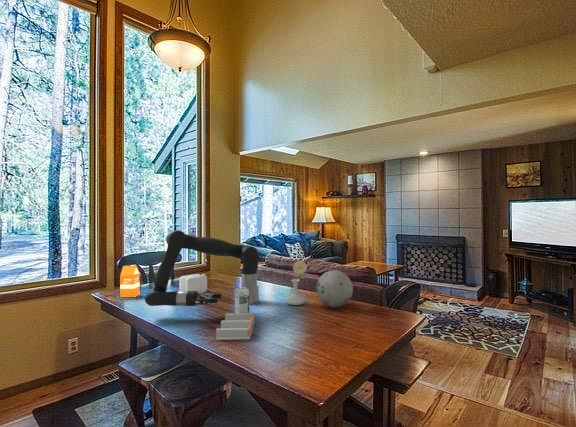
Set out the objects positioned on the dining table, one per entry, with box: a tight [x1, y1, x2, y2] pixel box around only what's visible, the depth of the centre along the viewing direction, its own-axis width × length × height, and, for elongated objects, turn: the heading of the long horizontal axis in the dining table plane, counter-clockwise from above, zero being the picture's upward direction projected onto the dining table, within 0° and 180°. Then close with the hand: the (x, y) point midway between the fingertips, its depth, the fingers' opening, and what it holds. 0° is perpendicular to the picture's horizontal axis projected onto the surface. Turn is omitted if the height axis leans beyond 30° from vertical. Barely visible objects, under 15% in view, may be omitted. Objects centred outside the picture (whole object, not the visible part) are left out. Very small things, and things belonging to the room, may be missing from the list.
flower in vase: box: [285, 260, 308, 306], centre depth 182 cm, size 13×11×25 cm
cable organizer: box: [178, 273, 208, 295], centre depth 212 cm, size 15×11×12 cm
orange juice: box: [119, 265, 141, 298], centre depth 205 cm, size 8×9×20 cm
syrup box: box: [234, 287, 250, 313], centre depth 160 cm, size 6×6×14 cm
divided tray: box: [215, 312, 256, 341], centre depth 143 cm, size 14×22×4 cm, turn 0°
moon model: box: [316, 269, 354, 308], centre depth 176 cm, size 20×20×20 cm
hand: (219, 298), depth 160 cm, fingers open, 8 cm apart
